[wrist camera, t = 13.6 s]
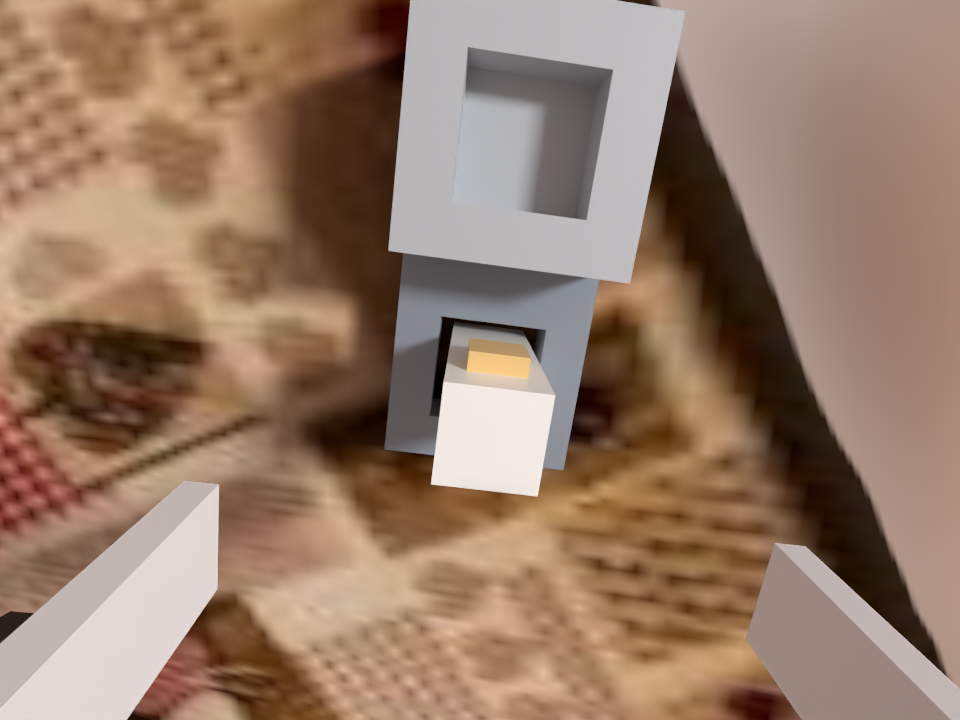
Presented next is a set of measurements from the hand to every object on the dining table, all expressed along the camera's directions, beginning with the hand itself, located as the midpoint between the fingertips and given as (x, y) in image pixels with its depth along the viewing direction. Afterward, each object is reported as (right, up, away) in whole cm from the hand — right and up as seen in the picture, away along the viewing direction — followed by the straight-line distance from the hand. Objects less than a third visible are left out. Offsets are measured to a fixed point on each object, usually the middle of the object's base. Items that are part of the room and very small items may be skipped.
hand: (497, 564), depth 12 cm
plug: (0, +5, +18) cm, 19 cm away
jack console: (+1, +10, +17) cm, 20 cm away
